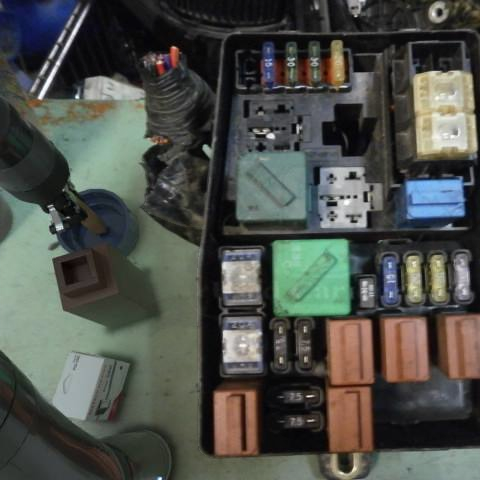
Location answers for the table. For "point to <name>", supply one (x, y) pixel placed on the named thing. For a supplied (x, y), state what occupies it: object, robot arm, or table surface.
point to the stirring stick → (92, 219)
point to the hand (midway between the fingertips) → (79, 210)
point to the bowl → (117, 222)
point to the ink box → (90, 386)
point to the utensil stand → (102, 286)
